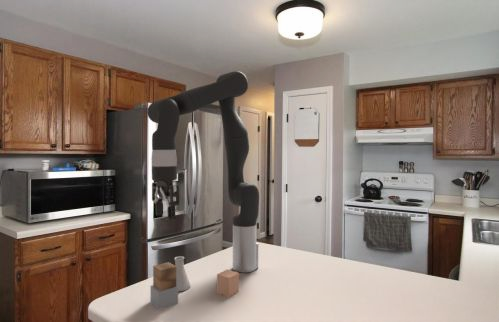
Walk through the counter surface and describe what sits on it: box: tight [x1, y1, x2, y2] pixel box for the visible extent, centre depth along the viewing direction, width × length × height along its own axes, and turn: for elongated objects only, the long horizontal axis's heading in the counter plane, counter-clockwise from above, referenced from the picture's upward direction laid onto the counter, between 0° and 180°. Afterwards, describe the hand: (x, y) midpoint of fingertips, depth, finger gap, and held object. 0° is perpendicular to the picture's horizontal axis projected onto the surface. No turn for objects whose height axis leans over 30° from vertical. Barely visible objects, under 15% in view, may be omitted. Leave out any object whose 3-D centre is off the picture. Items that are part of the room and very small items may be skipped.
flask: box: [174, 255, 191, 292], centre depth 103 cm, size 7×7×10 cm
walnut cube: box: [152, 261, 176, 291], centre depth 93 cm, size 5×5×6 cm
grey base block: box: [150, 284, 179, 310], centre depth 93 cm, size 6×6×5 cm
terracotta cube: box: [216, 269, 240, 298], centre depth 100 cm, size 5×5×6 cm
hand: (165, 217), depth 96 cm, fingers open, 8 cm apart
